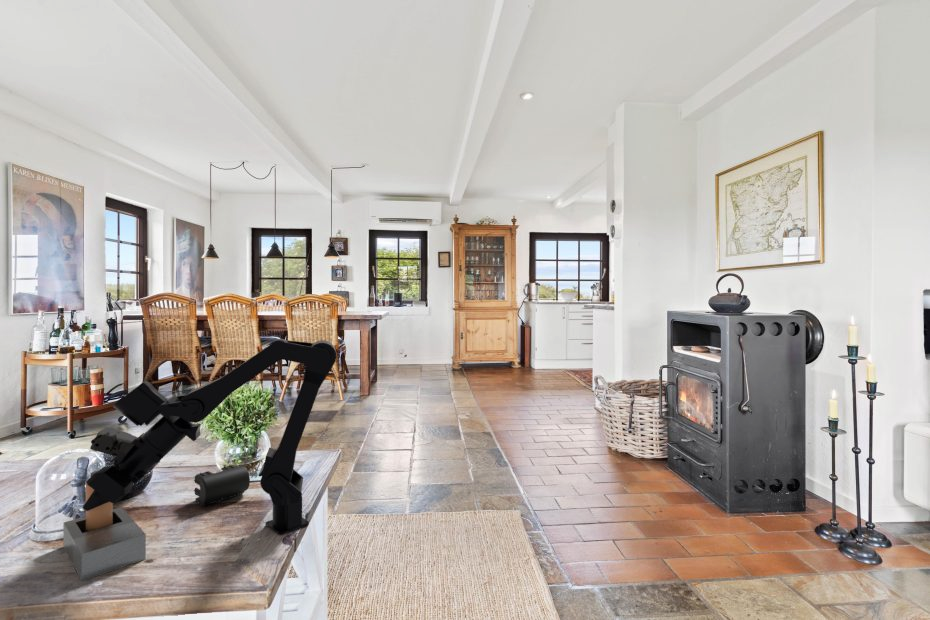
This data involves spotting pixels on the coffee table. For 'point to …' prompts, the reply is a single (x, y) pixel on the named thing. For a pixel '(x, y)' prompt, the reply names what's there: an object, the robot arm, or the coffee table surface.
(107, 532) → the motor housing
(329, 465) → the coffee table surface
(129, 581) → the coffee table surface
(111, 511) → the plug
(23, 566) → the coffee table surface
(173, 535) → the coffee table surface
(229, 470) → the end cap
